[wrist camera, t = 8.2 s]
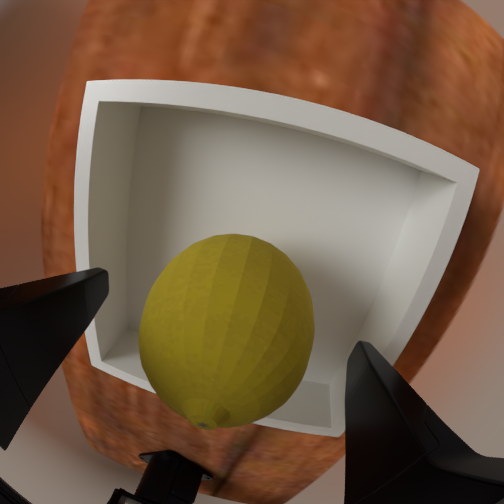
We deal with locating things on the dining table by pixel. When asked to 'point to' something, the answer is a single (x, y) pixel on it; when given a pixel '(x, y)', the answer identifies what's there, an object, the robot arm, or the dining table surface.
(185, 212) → the box
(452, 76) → the dining table surface
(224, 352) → the lemon
